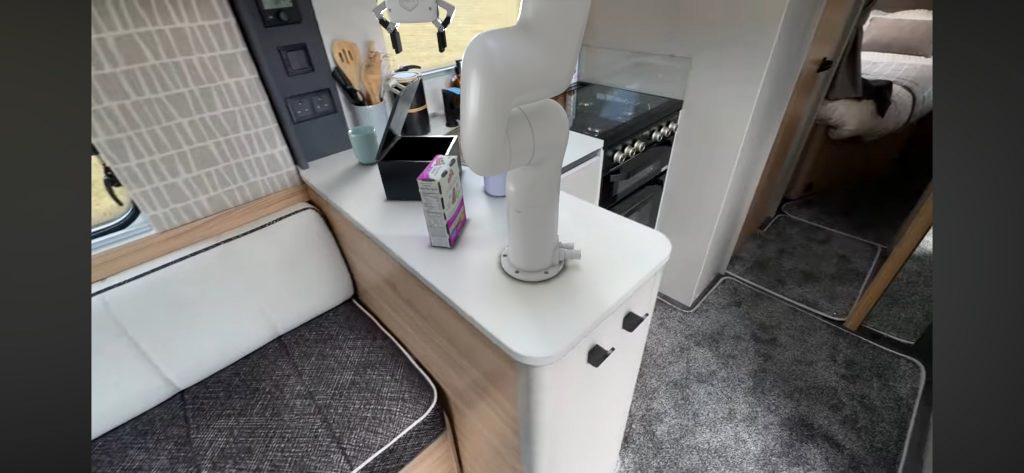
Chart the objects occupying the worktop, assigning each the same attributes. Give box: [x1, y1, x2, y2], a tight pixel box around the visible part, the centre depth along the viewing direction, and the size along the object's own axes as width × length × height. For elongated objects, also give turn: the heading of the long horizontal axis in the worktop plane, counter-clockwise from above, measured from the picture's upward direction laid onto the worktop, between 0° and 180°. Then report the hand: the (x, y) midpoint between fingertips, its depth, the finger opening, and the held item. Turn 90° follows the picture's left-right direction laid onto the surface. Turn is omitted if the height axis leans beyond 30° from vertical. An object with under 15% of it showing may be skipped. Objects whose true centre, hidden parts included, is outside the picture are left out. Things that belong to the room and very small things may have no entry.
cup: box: [347, 125, 380, 165], centre depth 113 cm, size 8×8×10 cm
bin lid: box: [375, 75, 422, 162], centre depth 91 cm, size 17×17×5 cm
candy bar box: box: [416, 155, 468, 249], centre depth 79 cm, size 11×5×16 cm, turn 168°
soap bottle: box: [483, 172, 508, 197], centre depth 92 cm, size 9×9×24 cm
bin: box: [376, 135, 463, 202], centre depth 99 cm, size 17×17×11 cm
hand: (420, 52), depth 82 cm, fingers open, 9 cm apart
